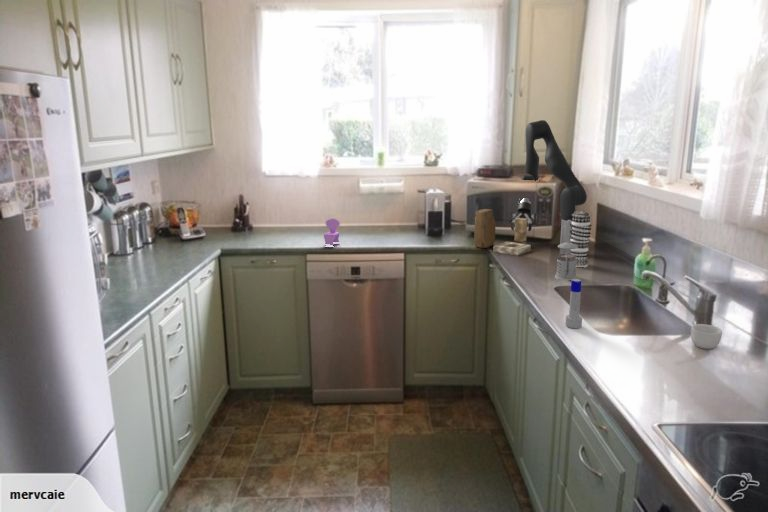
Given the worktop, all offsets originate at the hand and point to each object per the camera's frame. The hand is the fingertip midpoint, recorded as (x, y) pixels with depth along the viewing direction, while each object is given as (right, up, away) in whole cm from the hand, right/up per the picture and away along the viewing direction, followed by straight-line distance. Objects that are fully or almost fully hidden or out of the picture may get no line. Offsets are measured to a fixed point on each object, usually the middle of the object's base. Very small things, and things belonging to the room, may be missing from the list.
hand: (520, 230), depth 286 cm
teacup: (+23, -40, -127) cm, 135 cm away
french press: (+5, -23, -57) cm, 62 cm away
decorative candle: (+17, -18, -37) cm, 45 cm away
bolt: (-11, -37, -110) cm, 116 cm away
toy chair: (-101, -8, +14) cm, 103 cm away
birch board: (-7, -11, -8) cm, 15 cm away
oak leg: (0, -9, +2) cm, 9 cm away
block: (-18, -9, +4) cm, 21 cm away
